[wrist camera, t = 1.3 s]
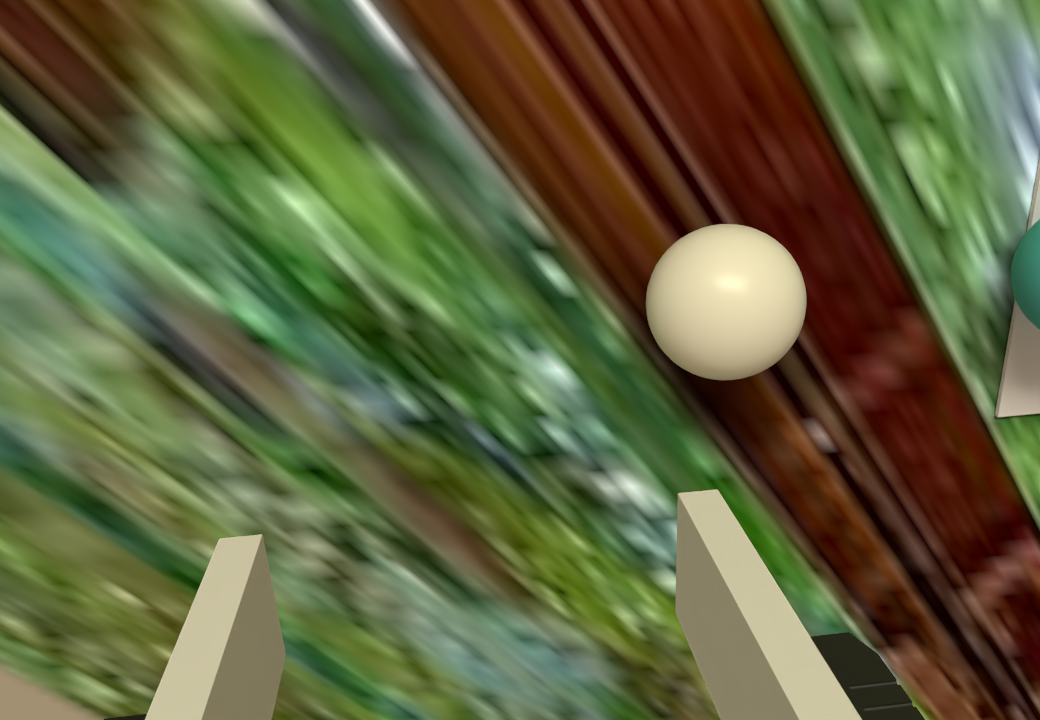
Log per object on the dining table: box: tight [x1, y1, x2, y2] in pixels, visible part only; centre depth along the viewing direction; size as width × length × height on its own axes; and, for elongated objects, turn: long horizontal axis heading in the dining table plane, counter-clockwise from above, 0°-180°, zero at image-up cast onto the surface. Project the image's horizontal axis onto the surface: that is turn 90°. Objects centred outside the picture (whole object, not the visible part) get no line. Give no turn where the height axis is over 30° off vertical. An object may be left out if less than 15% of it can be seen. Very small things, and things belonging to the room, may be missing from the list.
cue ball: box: [646, 224, 806, 380], centre depth 30 cm, size 6×6×6 cm
